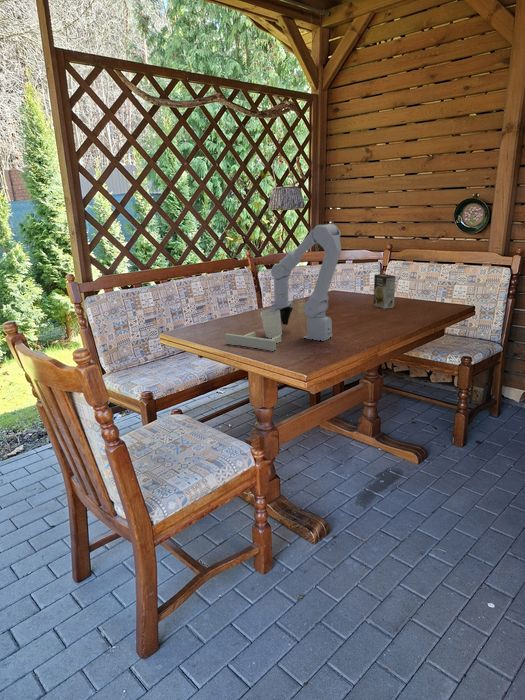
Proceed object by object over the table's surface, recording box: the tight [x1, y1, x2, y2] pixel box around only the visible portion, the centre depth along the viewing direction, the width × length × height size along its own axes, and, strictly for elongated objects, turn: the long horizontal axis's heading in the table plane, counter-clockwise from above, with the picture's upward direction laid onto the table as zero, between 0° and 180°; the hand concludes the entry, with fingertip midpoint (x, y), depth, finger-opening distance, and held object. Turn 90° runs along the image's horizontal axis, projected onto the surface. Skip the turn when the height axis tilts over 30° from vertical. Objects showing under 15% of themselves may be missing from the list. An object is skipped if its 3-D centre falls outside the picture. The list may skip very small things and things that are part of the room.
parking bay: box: [224, 331, 282, 352], centre depth 182 cm, size 22×13×4 cm, turn 57°
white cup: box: [260, 308, 283, 339], centre depth 190 cm, size 8×8×10 cm
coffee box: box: [373, 273, 396, 310], centre depth 238 cm, size 9×6×16 cm
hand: (281, 325), depth 197 cm, fingers open, 5 cm apart
